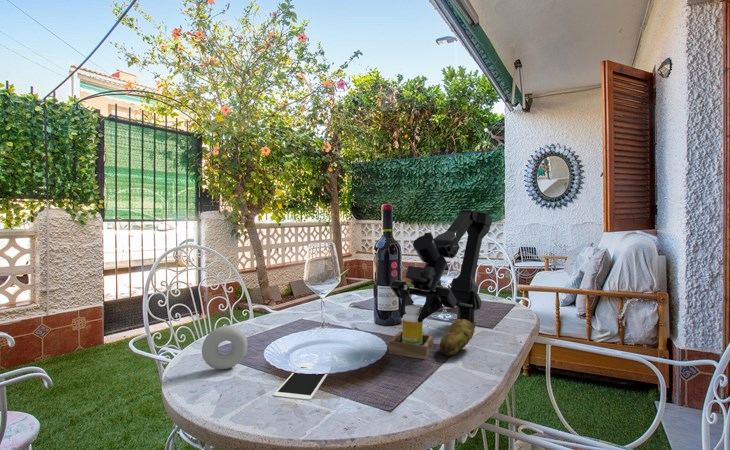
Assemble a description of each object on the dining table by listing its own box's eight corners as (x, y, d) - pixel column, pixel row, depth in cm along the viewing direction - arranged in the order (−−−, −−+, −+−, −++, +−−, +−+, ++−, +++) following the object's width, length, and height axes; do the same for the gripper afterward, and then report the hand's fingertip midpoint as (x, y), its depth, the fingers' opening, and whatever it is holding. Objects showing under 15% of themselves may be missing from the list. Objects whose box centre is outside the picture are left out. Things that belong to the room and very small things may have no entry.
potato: (426, 350, 99) (427, 320, 99) (461, 342, 106) (461, 314, 106) (449, 361, 92) (449, 329, 92) (484, 351, 99) (485, 322, 99)
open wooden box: (399, 342, 105) (399, 331, 105) (433, 346, 102) (433, 335, 102) (388, 353, 96) (389, 341, 96) (426, 359, 93) (426, 347, 93)
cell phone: (332, 368, 87) (332, 366, 87) (310, 402, 71) (310, 399, 71) (300, 365, 89) (301, 363, 89) (272, 398, 73) (272, 395, 73)
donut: (202, 375, 81) (202, 330, 81) (200, 370, 84) (201, 326, 84) (248, 367, 86) (249, 325, 86) (246, 362, 89) (246, 321, 89)
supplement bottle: (421, 347, 96) (422, 310, 96) (401, 345, 97) (401, 308, 97) (422, 340, 101) (423, 305, 101) (403, 338, 102) (403, 303, 102)
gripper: (393, 252, 108) (369, 296, 100) (452, 257, 95) (429, 308, 87) (409, 276, 114) (386, 319, 106) (465, 283, 102) (445, 333, 94)
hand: (409, 319), depth 98 cm, fingers closed on supplement bottle, 5 cm apart
